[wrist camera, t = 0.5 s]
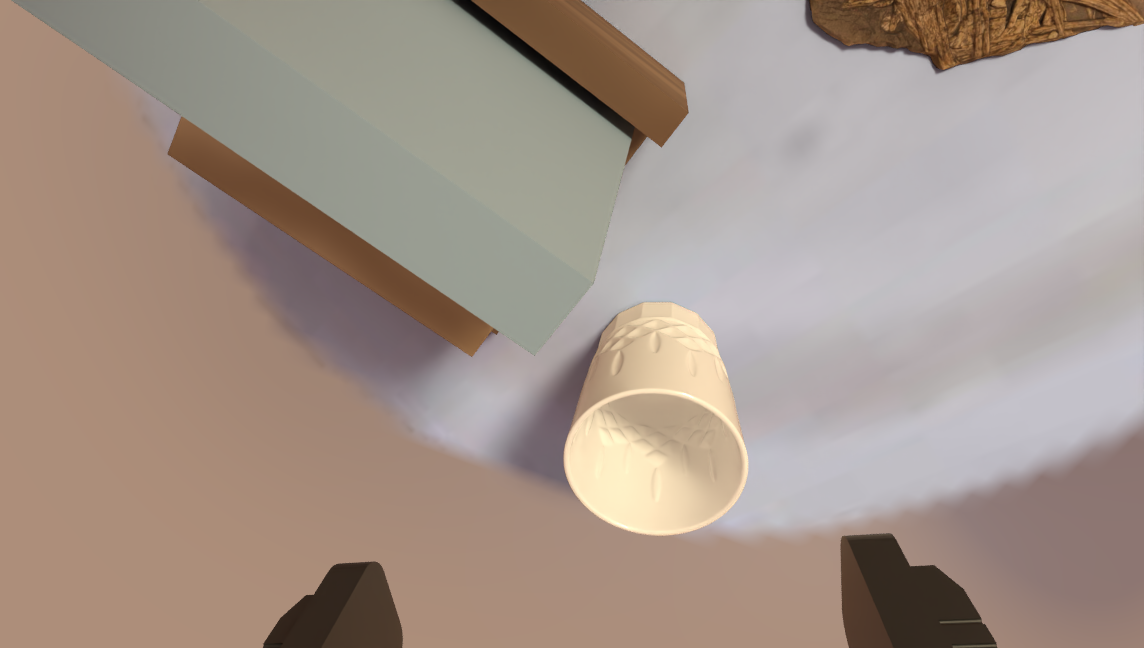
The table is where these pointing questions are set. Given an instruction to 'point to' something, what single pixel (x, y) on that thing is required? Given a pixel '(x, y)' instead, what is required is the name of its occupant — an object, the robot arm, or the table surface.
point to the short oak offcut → (326, 237)
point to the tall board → (393, 132)
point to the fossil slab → (967, 24)
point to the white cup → (656, 426)
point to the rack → (599, 63)
